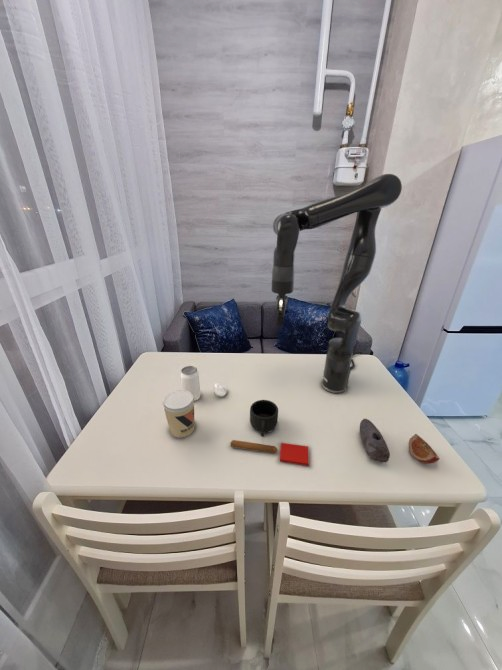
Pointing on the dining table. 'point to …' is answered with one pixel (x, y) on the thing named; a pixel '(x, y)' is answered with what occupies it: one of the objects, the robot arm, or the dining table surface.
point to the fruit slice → (422, 450)
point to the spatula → (287, 454)
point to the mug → (263, 416)
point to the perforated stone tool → (374, 442)
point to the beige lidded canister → (179, 413)
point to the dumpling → (219, 390)
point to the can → (191, 381)
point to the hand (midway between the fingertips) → (280, 324)
